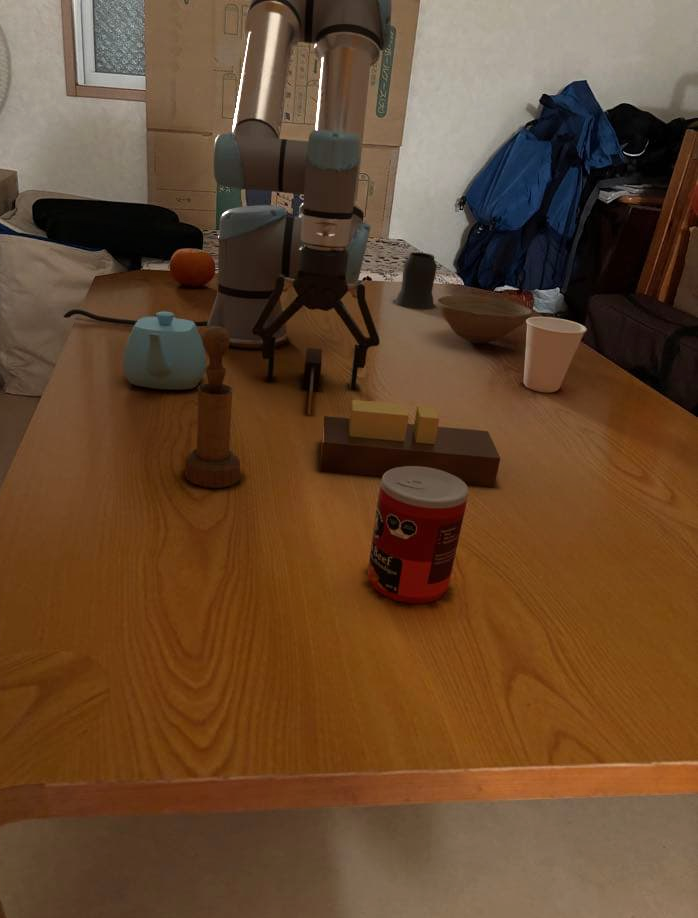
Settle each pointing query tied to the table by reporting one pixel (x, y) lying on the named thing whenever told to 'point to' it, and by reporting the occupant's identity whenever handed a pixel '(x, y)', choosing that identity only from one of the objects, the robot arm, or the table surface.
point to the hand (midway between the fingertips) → (311, 382)
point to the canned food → (416, 533)
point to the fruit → (192, 267)
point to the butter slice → (426, 424)
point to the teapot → (164, 353)
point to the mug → (417, 281)
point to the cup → (549, 351)
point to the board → (410, 453)
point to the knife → (312, 372)
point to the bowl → (481, 317)
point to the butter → (378, 420)
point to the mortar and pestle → (213, 421)
